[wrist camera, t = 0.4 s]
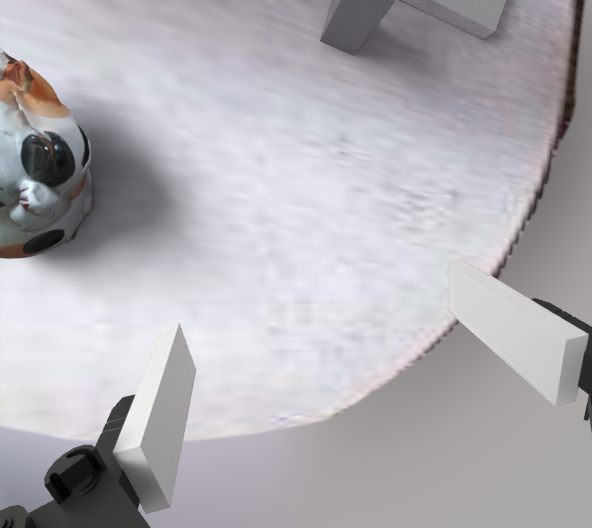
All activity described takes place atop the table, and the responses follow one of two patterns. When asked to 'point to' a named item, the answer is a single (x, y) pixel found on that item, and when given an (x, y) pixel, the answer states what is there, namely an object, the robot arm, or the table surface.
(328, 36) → the plug
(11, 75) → the lucky cat figurine
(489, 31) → the socket
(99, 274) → the table surface
